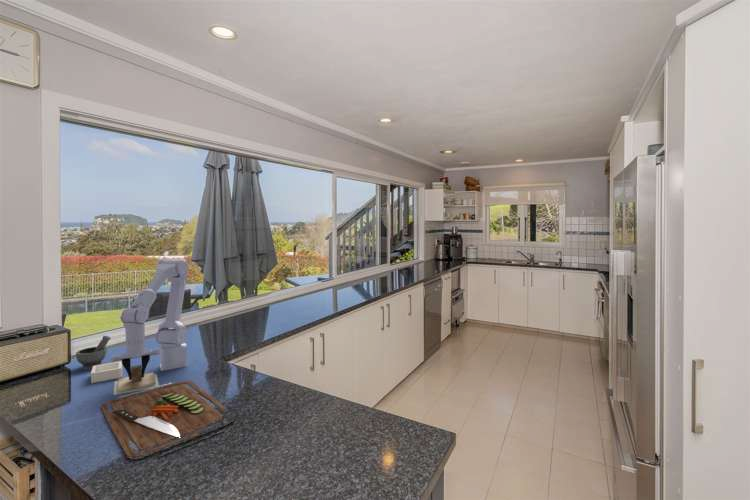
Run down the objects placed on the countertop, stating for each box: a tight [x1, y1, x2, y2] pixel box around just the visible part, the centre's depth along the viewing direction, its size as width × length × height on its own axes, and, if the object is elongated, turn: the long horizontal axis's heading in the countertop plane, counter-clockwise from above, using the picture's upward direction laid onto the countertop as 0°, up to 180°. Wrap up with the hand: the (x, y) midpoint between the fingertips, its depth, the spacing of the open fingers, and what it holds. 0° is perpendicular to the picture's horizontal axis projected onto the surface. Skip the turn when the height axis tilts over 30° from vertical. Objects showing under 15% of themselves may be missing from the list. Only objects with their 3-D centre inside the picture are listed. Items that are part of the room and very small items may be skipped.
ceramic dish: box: [90, 360, 123, 384], centre depth 134 cm, size 9×9×4 cm
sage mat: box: [113, 373, 160, 396], centre depth 128 cm, size 13×13×1 cm
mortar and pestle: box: [75, 335, 111, 371], centre depth 145 cm, size 11×9×12 cm
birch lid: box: [117, 364, 156, 392], centre depth 128 cm, size 11×11×6 cm
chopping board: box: [100, 380, 228, 458], centre depth 108 cm, size 45×27×3 cm, turn 46°
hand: (136, 377), depth 128 cm, fingers closed on birch lid, 3 cm apart
